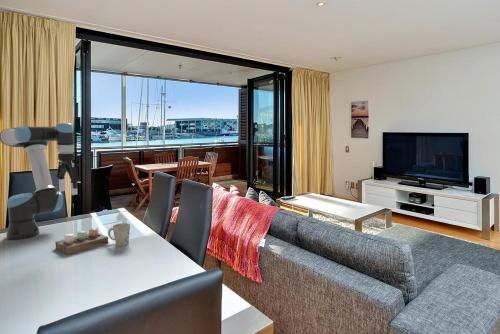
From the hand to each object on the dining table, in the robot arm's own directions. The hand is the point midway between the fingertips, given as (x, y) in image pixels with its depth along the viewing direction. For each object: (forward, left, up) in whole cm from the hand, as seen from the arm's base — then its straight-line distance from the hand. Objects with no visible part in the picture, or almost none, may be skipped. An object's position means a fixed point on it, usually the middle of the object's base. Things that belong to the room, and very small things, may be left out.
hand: (68, 192), depth 170 cm
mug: (+25, +13, -26) cm, 39 cm away
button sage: (+13, 0, -23) cm, 26 cm away
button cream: (+13, -6, -23) cm, 27 cm away
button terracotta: (+13, +6, -23) cm, 27 cm away
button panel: (+13, 0, -26) cm, 29 cm away
